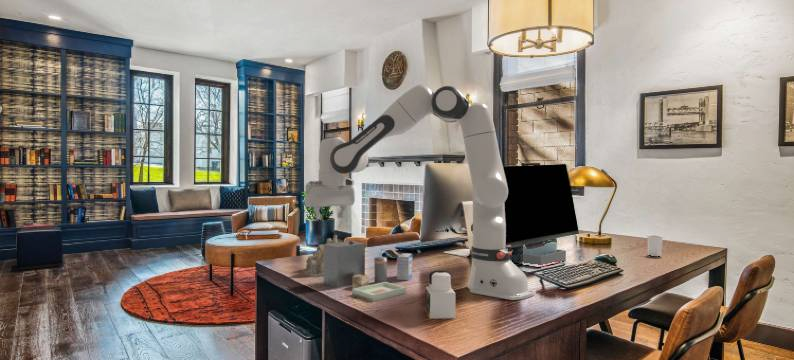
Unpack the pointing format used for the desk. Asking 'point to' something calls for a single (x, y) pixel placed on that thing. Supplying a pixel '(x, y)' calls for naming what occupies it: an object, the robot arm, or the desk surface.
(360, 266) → the console
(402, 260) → the medicine box
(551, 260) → the organizer bin
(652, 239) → the drinking glass
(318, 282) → the desk surface
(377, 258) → the cartridge
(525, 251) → the squiggly pen holder
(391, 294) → the tray
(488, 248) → the robot arm
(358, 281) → the maple block
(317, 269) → the ceramic cottage
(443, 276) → the medicine bottle
